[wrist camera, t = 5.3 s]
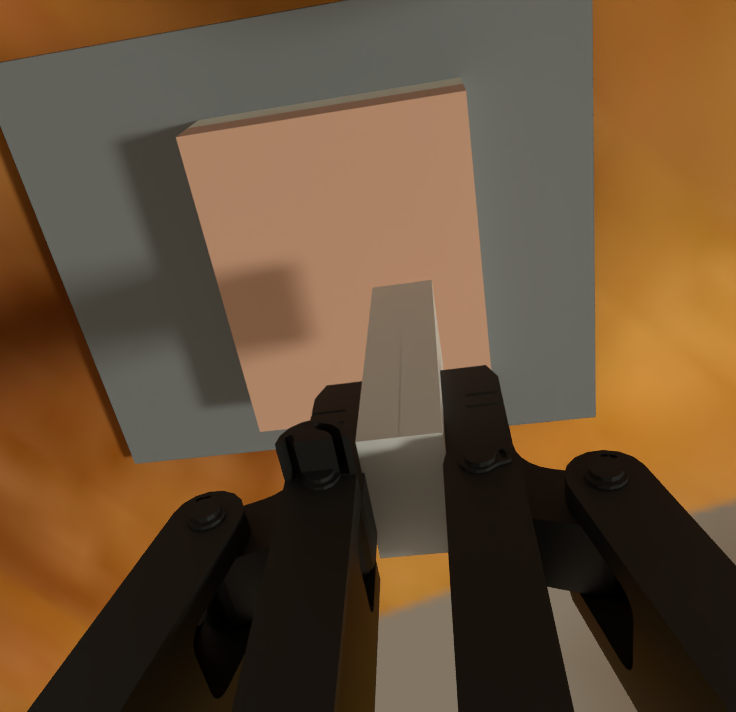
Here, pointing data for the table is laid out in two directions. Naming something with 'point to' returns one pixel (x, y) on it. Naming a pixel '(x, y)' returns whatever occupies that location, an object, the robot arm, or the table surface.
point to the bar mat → (288, 87)
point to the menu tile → (337, 232)
